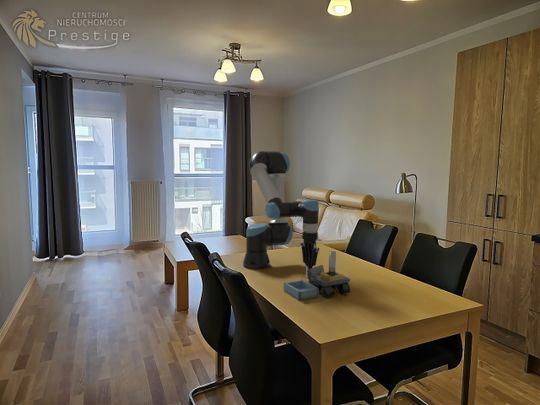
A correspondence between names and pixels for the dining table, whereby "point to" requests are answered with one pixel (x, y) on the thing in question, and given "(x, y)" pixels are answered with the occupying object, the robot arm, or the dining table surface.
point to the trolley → (331, 283)
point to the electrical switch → (315, 272)
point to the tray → (301, 290)
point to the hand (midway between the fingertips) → (308, 278)
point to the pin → (332, 263)
